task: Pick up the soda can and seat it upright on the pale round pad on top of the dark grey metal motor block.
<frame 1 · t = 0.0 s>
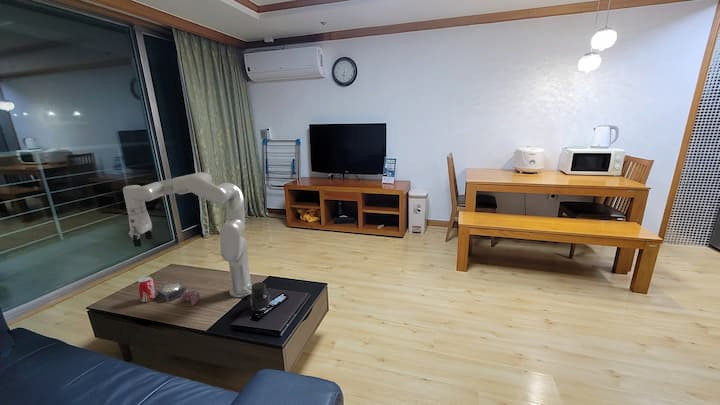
hand: (144, 242, 153), 31 cm above the table, tool pointing down, fingers open, 9 cm apart
video game controller: (190, 302, 156), on the table
motor block: (172, 294, 163), on the table
ink bottle: (260, 307, 150), on the table
soda can: (149, 299, 159), on the table
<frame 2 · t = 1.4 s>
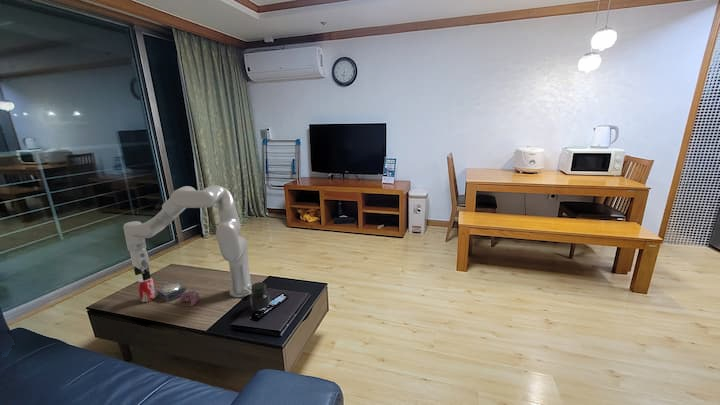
hand: (142, 276, 155), 13 cm above the table, tool pointing down, fingers open, 9 cm apart
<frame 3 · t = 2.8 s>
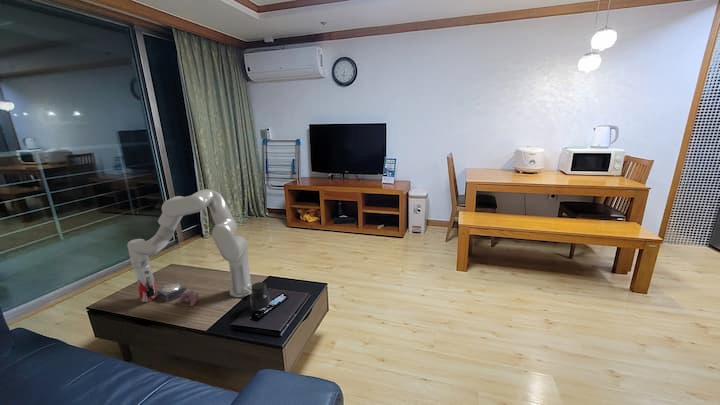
hand: (147, 293, 158), 3 cm above the table, tool pointing down, fingers closed on soda can, 7 cm apart
soda can: (149, 299, 159), on the table, touching gripper
everything else where it was.
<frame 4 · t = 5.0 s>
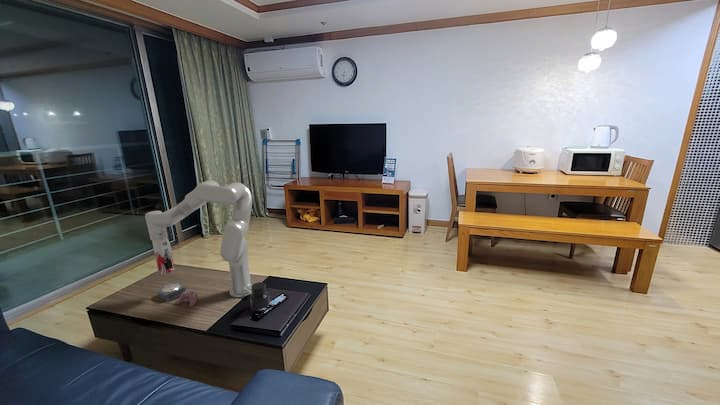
hand: (165, 266, 158), 17 cm above the table, tool pointing down, fingers closed on soda can, 7 cm apart
soda can: (167, 272, 159), point 13 cm above the table, touching gripper
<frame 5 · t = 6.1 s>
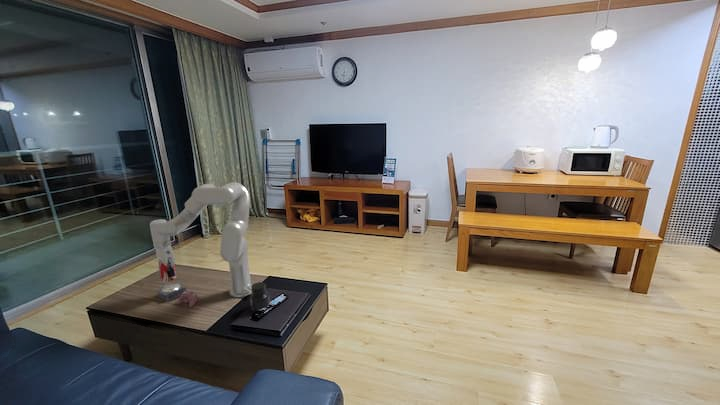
hand: (168, 274, 159), 12 cm above the table, tool pointing down, fingers closed on soda can, 7 cm apart
soda can: (169, 280, 160), point 9 cm above the table, touching gripper
when the fingers open (9 cm above the table, at t = 7.2 s): soda can drops 1 cm, resting on motor block.
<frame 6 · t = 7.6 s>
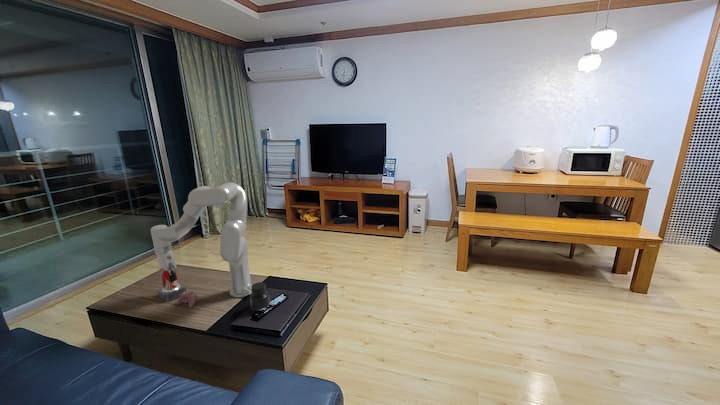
hand: (169, 278, 160), 10 cm above the table, tool pointing down, fingers open, 9 cm apart
soda can: (171, 287, 162), point 4 cm above the table, touching motor block
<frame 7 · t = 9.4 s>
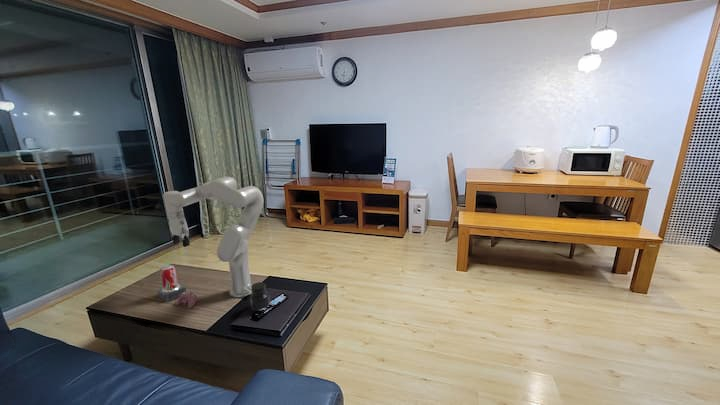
hand: (181, 244, 163), 26 cm above the table, tool pointing down, fingers open, 9 cm apart
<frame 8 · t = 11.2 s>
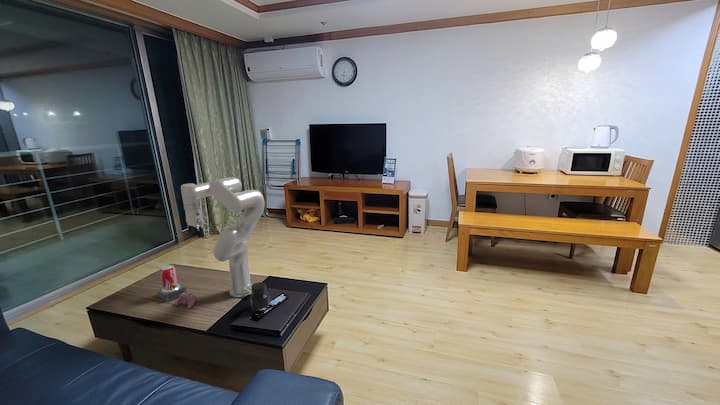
hand: (196, 235, 170), 28 cm above the table, tool pointing down, fingers open, 9 cm apart
at the end: soda can inside the target area on the motor block (0.2 cm from its centre), point 4.2 cm above the motor block's base; soda can tilted 0°; the gripper is holding nothing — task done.
